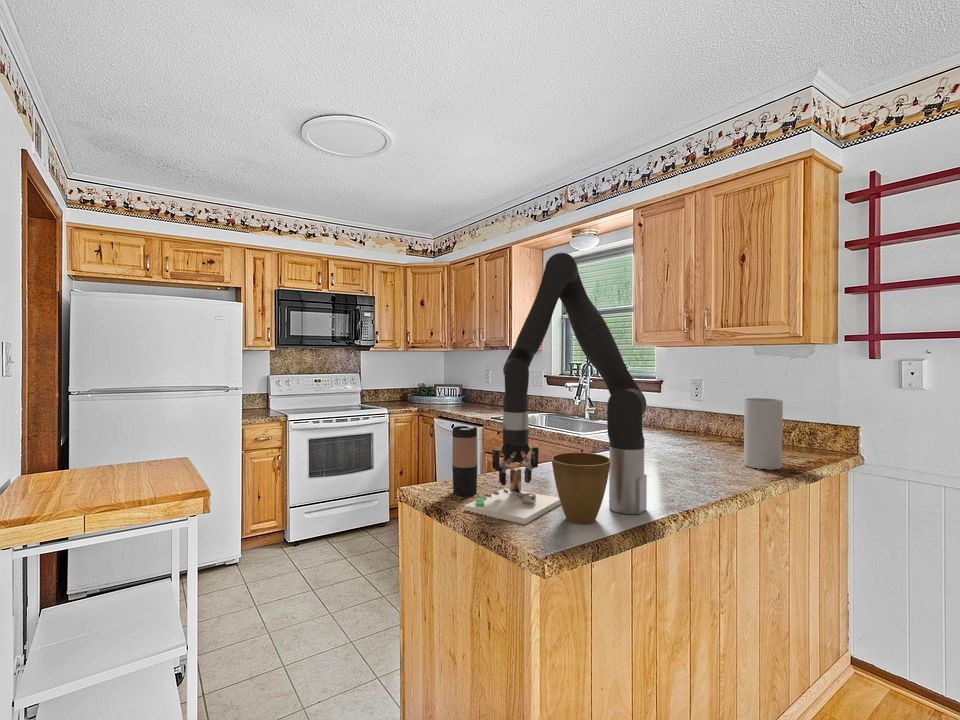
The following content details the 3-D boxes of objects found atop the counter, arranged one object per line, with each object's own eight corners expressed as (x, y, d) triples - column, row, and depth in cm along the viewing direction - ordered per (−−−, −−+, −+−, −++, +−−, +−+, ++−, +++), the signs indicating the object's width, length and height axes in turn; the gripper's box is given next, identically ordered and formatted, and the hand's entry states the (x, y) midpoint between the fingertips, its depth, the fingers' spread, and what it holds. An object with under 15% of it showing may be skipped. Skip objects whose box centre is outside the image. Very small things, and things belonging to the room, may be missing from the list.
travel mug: (455, 497, 153) (455, 430, 152) (450, 490, 160) (449, 426, 160) (480, 495, 155) (480, 429, 154) (473, 489, 162) (473, 425, 162)
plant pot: (546, 511, 140) (546, 452, 139) (600, 510, 141) (600, 451, 140) (558, 530, 125) (558, 465, 125) (618, 529, 126) (618, 463, 126)
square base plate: (561, 503, 147) (561, 495, 147) (525, 524, 129) (525, 515, 129) (503, 492, 158) (503, 485, 158) (462, 510, 140) (462, 502, 140)
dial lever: (538, 503, 140) (538, 477, 140) (526, 504, 139) (526, 478, 139) (516, 490, 153) (516, 466, 153) (505, 491, 152) (505, 467, 152)
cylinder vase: (736, 464, 196) (736, 399, 195) (759, 461, 200) (760, 397, 200) (765, 472, 184) (766, 402, 184) (789, 468, 189) (790, 400, 188)
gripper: (497, 430, 143) (497, 489, 144) (543, 427, 148) (543, 484, 149) (487, 426, 150) (487, 482, 151) (532, 423, 155) (532, 478, 156)
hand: (515, 483), depth 150 cm, fingers open, 7 cm apart
